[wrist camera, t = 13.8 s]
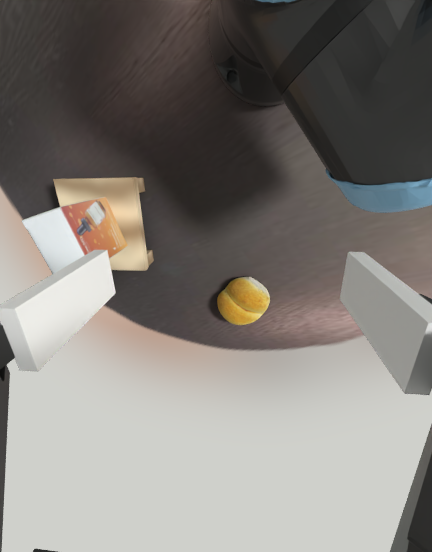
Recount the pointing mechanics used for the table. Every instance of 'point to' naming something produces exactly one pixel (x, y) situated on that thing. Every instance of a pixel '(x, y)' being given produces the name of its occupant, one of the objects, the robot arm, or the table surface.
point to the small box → (75, 232)
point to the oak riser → (124, 208)
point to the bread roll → (243, 301)
